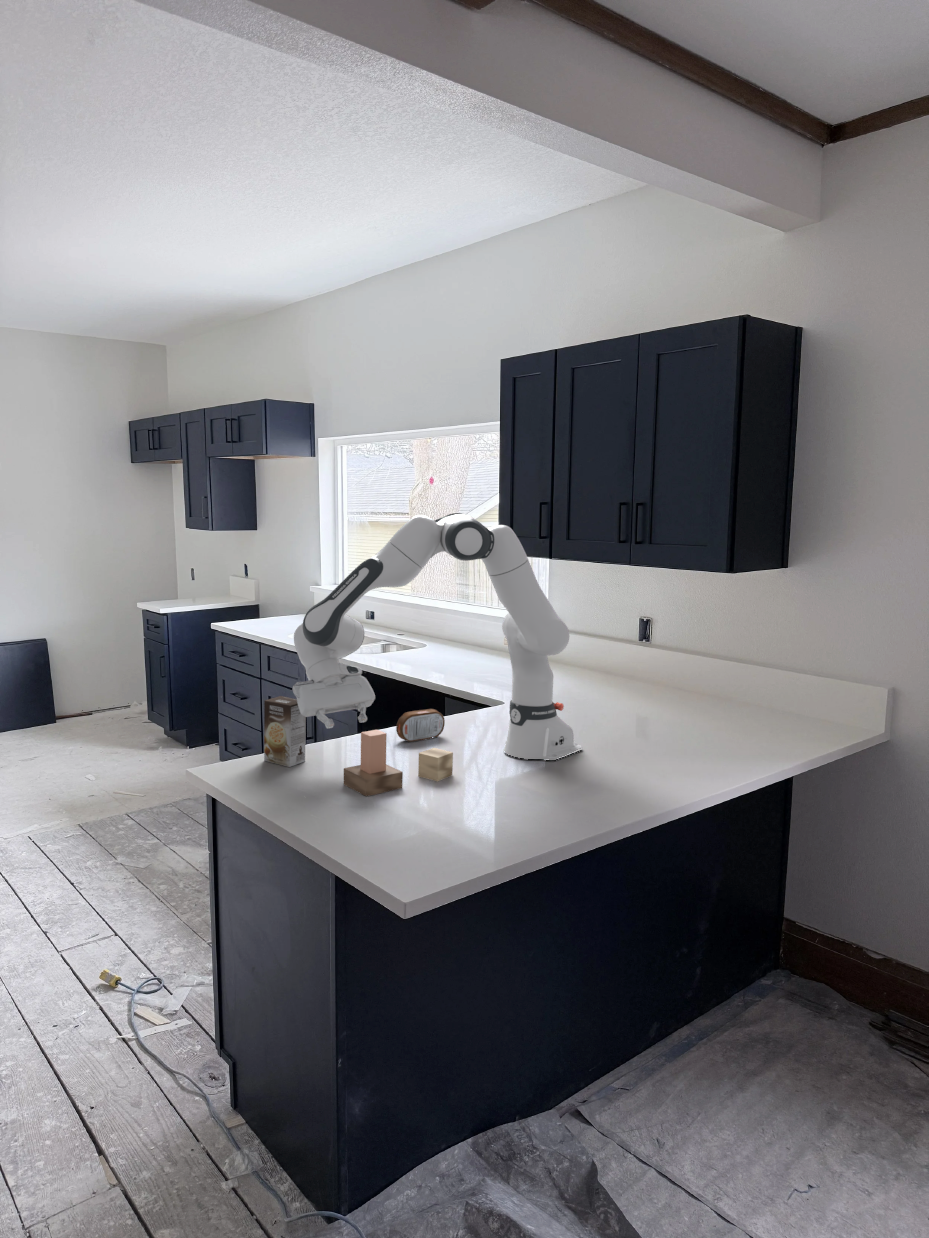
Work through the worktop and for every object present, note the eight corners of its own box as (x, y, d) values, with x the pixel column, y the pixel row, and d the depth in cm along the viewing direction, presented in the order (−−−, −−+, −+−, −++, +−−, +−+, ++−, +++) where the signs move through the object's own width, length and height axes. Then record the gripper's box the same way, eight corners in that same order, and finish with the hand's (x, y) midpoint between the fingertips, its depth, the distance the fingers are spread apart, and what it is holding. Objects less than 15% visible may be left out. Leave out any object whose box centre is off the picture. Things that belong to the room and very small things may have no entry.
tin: (440, 734, 247) (440, 706, 246) (446, 737, 244) (446, 708, 243) (395, 742, 238) (395, 712, 237) (401, 744, 236) (401, 715, 235)
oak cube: (433, 770, 214) (433, 747, 213) (452, 775, 210) (452, 752, 210) (418, 776, 209) (418, 752, 208) (437, 781, 206) (438, 757, 205)
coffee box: (262, 761, 218) (262, 699, 215) (280, 755, 223) (279, 695, 221) (289, 767, 213) (289, 705, 211) (306, 761, 218) (307, 700, 216)
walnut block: (378, 776, 208) (379, 761, 207) (402, 788, 200) (402, 771, 199) (343, 784, 201) (343, 768, 201) (366, 796, 194) (366, 779, 193)
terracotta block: (376, 766, 203) (377, 729, 202) (385, 770, 200) (386, 733, 199) (360, 769, 200) (361, 732, 199) (369, 773, 197) (370, 736, 196)
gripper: (294, 676, 207) (314, 723, 200) (365, 666, 219) (386, 711, 213) (285, 690, 211) (305, 737, 205) (356, 680, 223) (376, 724, 217)
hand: (347, 724), depth 209 cm, fingers open, 8 cm apart
